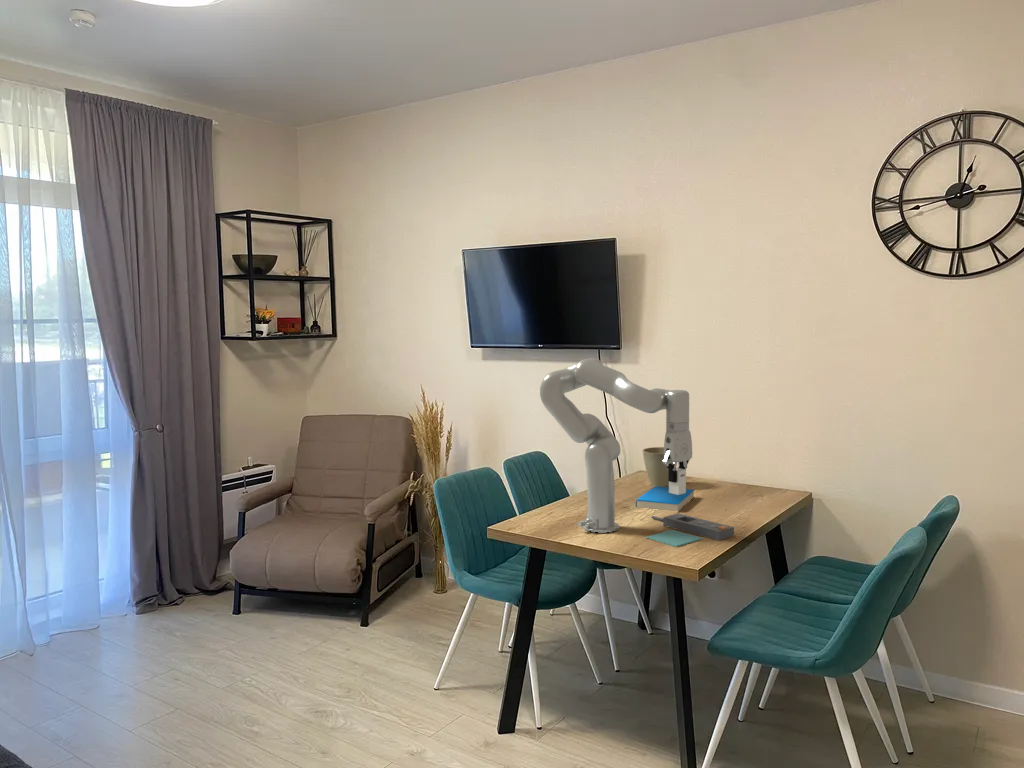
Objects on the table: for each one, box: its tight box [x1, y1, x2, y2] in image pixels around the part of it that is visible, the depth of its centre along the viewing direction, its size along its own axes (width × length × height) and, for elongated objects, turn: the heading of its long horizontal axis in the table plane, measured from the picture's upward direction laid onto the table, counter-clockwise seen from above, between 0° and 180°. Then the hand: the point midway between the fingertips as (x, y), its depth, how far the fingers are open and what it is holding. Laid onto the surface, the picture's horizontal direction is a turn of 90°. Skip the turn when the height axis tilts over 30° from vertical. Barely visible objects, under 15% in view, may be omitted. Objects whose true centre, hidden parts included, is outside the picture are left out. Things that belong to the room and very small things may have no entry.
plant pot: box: [642, 446, 673, 487], centre depth 328 cm, size 15×15×16 cm
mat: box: [645, 529, 703, 548], centre depth 252 cm, size 13×13×1 cm
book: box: [635, 486, 695, 512], centre depth 299 cm, size 17×4×25 cm
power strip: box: [650, 512, 735, 541], centre depth 264 cm, size 33×8×4 cm, turn 38°
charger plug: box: [668, 467, 687, 495], centre depth 253 cm, size 4×4×8 cm
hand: (677, 480), depth 253 cm, fingers closed on charger plug, 4 cm apart
